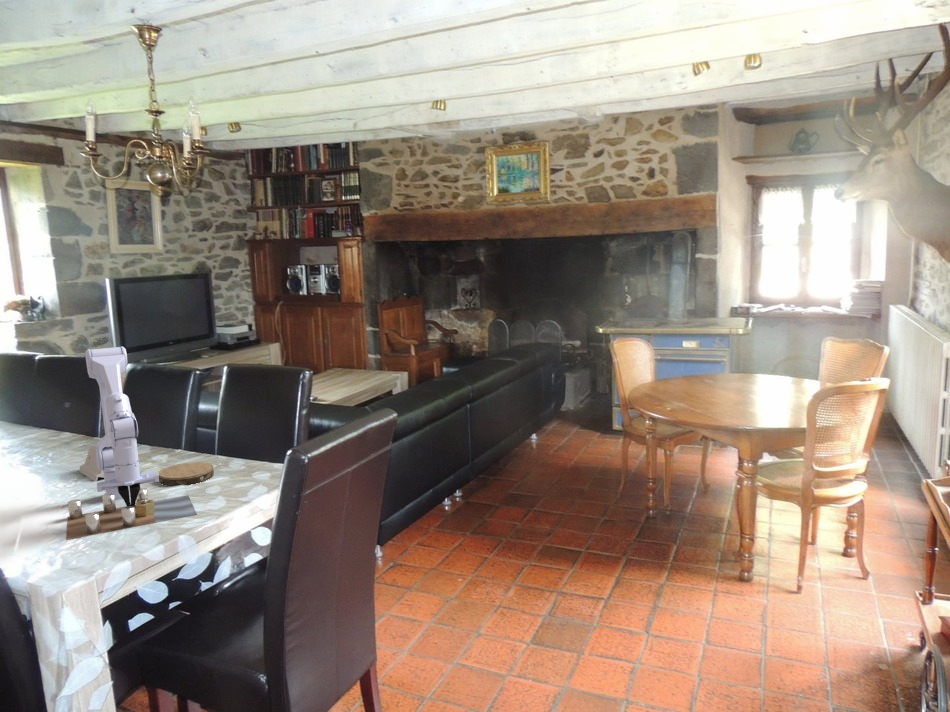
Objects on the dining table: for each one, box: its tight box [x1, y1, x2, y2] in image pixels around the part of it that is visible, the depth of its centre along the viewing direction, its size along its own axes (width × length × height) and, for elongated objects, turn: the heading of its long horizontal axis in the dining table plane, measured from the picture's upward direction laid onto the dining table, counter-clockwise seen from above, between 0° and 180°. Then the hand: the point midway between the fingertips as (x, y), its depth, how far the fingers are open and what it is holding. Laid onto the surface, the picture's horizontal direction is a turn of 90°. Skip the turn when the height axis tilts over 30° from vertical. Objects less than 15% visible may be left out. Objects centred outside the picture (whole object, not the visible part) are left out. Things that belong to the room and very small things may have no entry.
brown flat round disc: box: [158, 461, 215, 487], centre depth 214 cm, size 16×16×3 cm
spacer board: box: [65, 494, 198, 541], centre depth 181 cm, size 18×30×1 cm, turn 120°
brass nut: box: [135, 499, 155, 516], centre depth 182 cm, size 5×4×3 cm
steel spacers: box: [67, 487, 149, 535], centre depth 178 cm, size 17×19×4 cm
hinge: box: [78, 445, 107, 483], centre depth 221 cm, size 17×5×10 cm, turn 46°
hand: (131, 512), depth 181 cm, fingers closed
